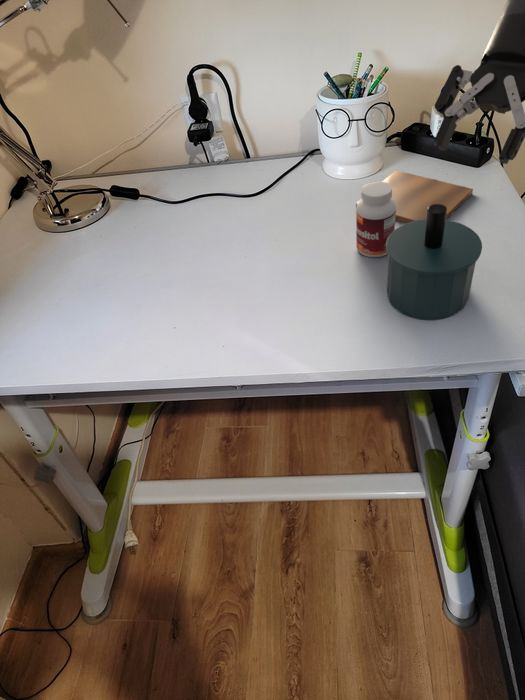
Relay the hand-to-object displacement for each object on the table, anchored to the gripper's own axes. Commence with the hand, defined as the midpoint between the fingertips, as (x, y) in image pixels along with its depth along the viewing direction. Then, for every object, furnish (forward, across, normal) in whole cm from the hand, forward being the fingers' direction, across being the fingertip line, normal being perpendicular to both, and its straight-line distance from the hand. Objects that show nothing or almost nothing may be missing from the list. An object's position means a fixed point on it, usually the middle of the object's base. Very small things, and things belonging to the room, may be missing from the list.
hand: (470, 154), depth 67 cm
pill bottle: (+14, -13, +12) cm, 23 cm away
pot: (+18, 0, +7) cm, 20 cm away
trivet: (+3, -15, +23) cm, 28 cm away
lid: (+12, 0, +1) cm, 13 cm away
